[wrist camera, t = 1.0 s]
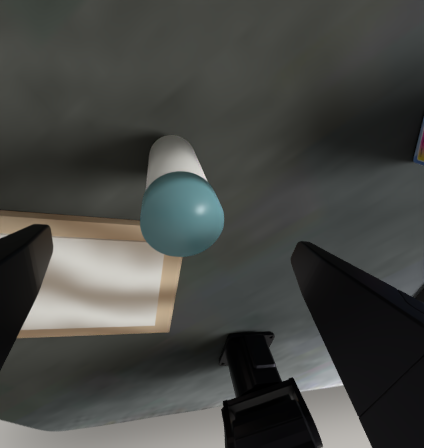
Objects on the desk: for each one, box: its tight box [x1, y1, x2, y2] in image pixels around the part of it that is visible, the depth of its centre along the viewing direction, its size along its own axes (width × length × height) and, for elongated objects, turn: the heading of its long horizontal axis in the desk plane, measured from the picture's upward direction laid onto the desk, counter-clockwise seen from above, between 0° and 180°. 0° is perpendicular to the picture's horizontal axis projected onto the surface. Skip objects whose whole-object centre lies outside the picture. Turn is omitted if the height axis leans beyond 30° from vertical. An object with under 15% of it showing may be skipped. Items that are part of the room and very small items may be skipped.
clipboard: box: [0, 210, 182, 338], centre depth 22 cm, size 14×22×2 cm, turn 79°
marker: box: [140, 135, 224, 257], centre depth 14 cm, size 3×3×10 cm
